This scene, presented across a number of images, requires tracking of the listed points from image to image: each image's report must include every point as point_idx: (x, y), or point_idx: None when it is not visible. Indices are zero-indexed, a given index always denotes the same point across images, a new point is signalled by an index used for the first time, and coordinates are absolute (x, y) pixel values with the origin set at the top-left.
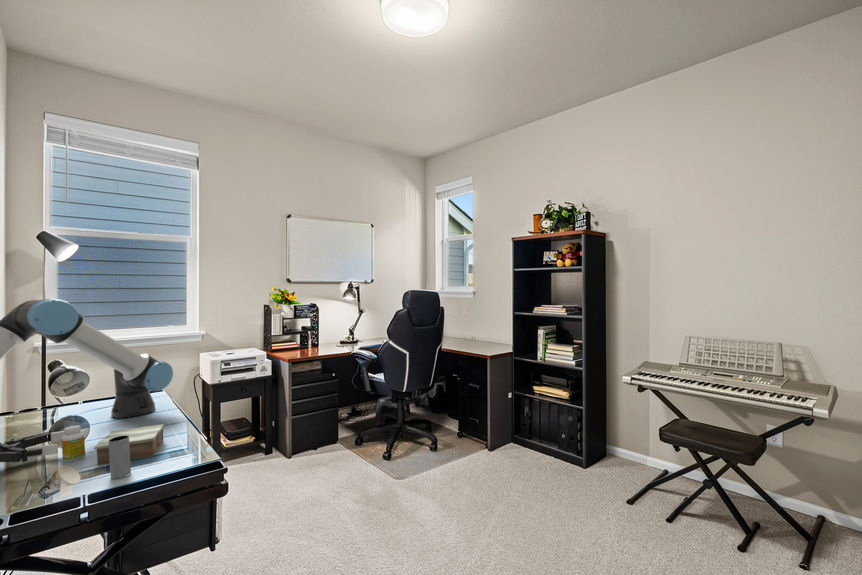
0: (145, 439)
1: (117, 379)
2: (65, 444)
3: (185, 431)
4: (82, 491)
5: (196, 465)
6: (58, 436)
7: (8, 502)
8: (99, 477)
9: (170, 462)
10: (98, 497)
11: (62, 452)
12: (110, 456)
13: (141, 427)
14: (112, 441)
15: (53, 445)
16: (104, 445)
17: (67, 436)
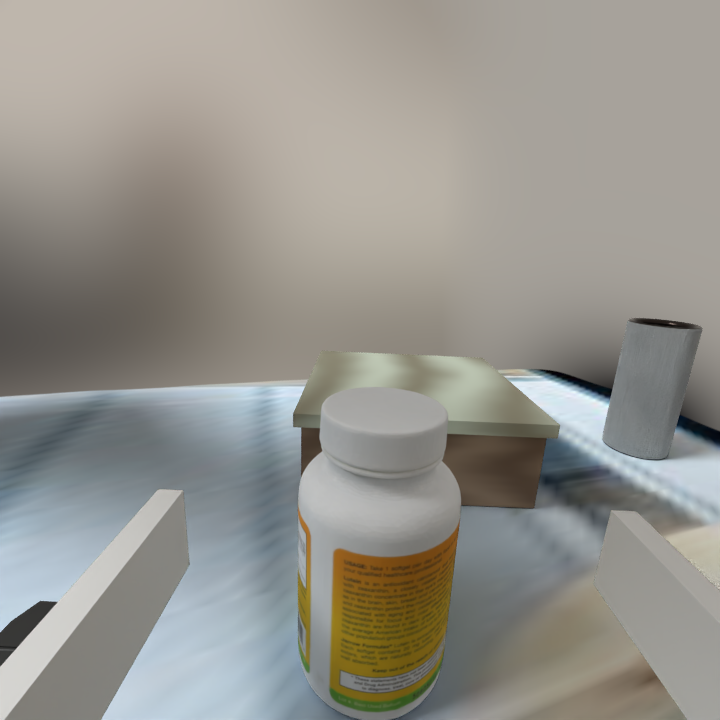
0: (488, 363)
1: None
2: (454, 549)
3: (253, 388)
4: None
5: (552, 379)
6: (82, 683)
7: None
8: (663, 482)
9: (529, 397)
10: None
11: (423, 646)
12: (687, 382)
13: (316, 370)
14: (699, 326)
15: (650, 532)
16: (540, 408)
17: (442, 480)
